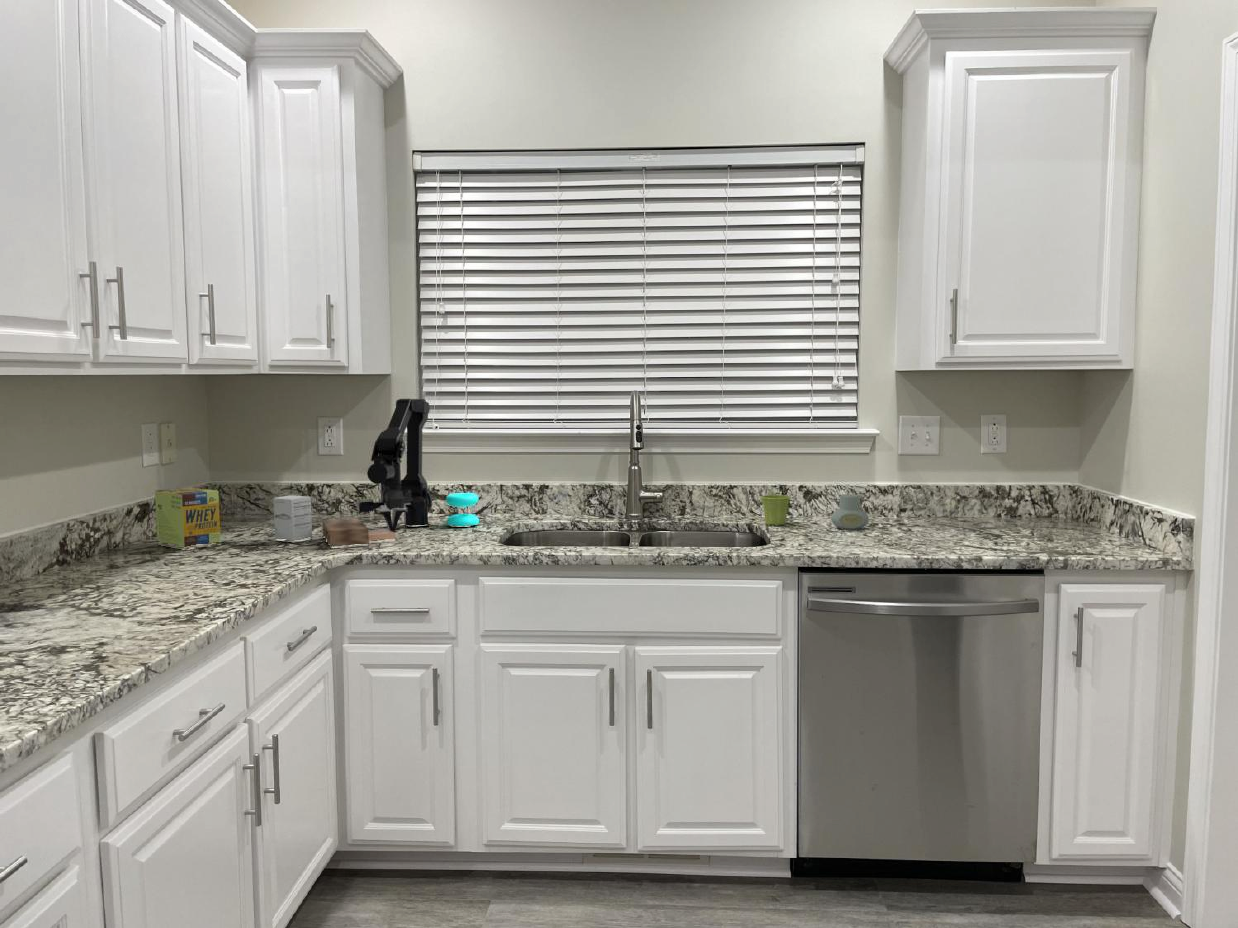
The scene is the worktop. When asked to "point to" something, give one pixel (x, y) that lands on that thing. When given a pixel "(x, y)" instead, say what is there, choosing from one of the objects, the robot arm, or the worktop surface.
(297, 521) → the supplement box
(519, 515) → the worktop surface
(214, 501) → the protein box
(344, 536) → the shelf
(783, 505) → the plant pot
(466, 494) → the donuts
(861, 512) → the air freshener
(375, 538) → the tile
